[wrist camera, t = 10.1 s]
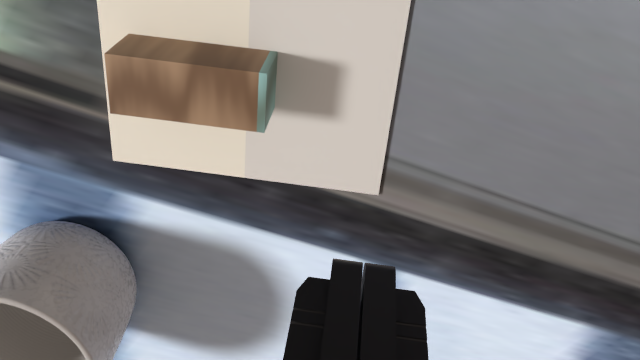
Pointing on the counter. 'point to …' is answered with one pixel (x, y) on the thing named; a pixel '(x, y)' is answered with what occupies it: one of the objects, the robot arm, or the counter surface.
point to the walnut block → (192, 82)
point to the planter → (63, 294)
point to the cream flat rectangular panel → (277, 88)
